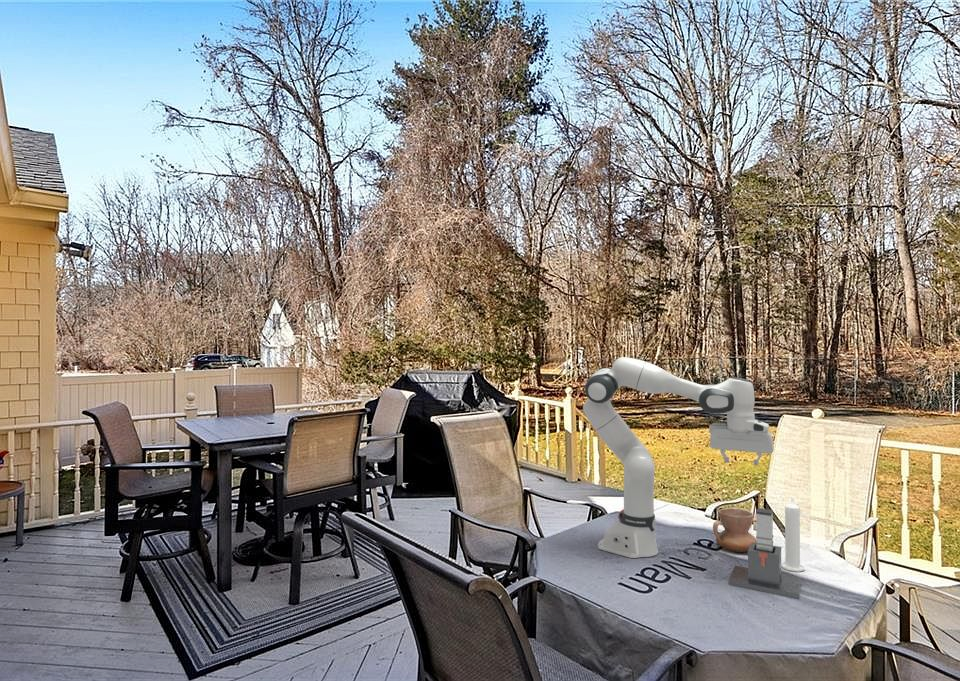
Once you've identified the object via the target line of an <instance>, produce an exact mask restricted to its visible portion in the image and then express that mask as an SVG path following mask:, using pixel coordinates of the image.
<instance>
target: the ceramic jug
mask: <svg viewBox="0 0 960 681" xmlns="http://www.w3.org/2000/svg"><path fill="white" fill-rule="evenodd" d="M718 516H719V520H716V521H714V522H713V524H712V530H713V534H714V535H715V538H716V543H717V544H718V545H719V547H721V548H723V549H725V550H728V551H730V552H733V553H734V552H736V553H748V549H749V547H750V544H751V542H755V543H756V541H757V538H756V536H754V535H753V534H752V533H750V532H749V531H750V528H751V526H752V525H753V522H754V523H756V517H754V513H753V512H752V511H750V510H748V509H745V508H738V507H736V508H735V507H728V508H721V509H719V510H718ZM719 525H721V526H722V527H723V529H724V530H722V531H721V532H719V531H718V530H719V529H718V528H719Z"/></svg>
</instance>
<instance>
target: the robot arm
mask: <svg viewBox="0 0 960 681" xmlns="http://www.w3.org/2000/svg"><path fill="white" fill-rule="evenodd" d="M621 387H627V388H631V389H634V390H637V391H639V392H642V393H648V394H653V395H659V394H673V395H679V396H682V397H684V398H688V399H691V400H693V401H696V402H697V403H698V404H699V407H700V408H701V409H702V410H703V411H704V412H706V413H707V414H710V415H718V414H723V413H726V422H713V423H710V424H709V426H708V428H709V429H708V431H709V434H710V436H709V437H710V438H709V447H710V448H711V449H713V450H720V454H721V456H722V457H723V463H728V464H729V463H730V456H727V455H726V451H737V452H738V451H739V452H748V453H756V456H757V458H756V459H755V458H754V459H753V460H752V461H753V466H757V467H759V463H760V462H759V460H761V457H762V456H763V454H772V453H773V452H774V439H773V435H772V433H771V432H770V425H769V424H768V423H766V422H763V421H761V420H758V419H756V418H755V417H756V416H755V411H754V407H755V404H756V402H755V399H756V398H755V389H754V384H753V382H751V381H750V380H748V379H746V378H741V377H735V376H730V377H729V378H728V379H726V380H725V381H722V382H720V383H717V384H716V383H709V384H707V383H706V384H701V383H697V382H694V381H691V380H688V379H684V378H682V377H678V376H676V375H674V374H673V373H670V372H669V371H667V370H665V369H664V368H661V367H660V366H659V365H656V364H654V363H651V362H649V361H645V360H641V359H637V358H633V357H628V356H627V357H626V356H625V357H624V356H621V357H617V358H616V359H615V360H614V362H613V364H612V367H609V366H604V367H601V368H599V369H597V370H596V371H595V372H594V373H593V374H591V375H590V377H589V378H588V380H587V381H586V383H585V387H584V391H585V396H586V397H587V399H586V401H585V402H584V403H583V405H582V406H583V407H582V411H583V413H584V415H585V417H586V419H587V420H588V422H589V424H590V426H591V427H592V429H593V430H594V431H595V432H596V433H597V435H598V436H599V437H600V438H601V441H603V443H605V445H606V446H607V447H608V449H609V450H610V451H611V452H612V453H613V454H614V455H615V456H616V457H617V459H618V460H619V461H620V462H621V464H622V465H623V508H622V509H621V510H620V512H619V513H618V515H617V519H618V521H617V522H615V523H613V524H612V525H610V526H609V527H607V529H606V530H605V532H604V535H603V538H602V539H600V540H599V542H598V543H597V548H598V549H599V550H602V551H605V552H609V553H611V554H615V555H619V556H622V557H626V558H630V559H638V558H648V557H650V558H651V557H654V556H656V555H658V554H659V553H660V552H659V549H658V545H657V540H656V532H655V530H656V516H655V513H654V512H655V511H654V510H655V509H654V507H655V505H654V503H655V502H654V501H655V500H654V497H655V496H654V491H655V472H656V471H655V468H656V467H655V466H656V465H655V462H654V459H653V456H652V454H651V453H650V450H648V449H647V447H646V446H645V445H644V444H643V443H642V441H641V440H640V439H639V437H638V436H637V434H635V432H633V430H632V429H631V428H630V426H629V425H628V424H627V423H626V421H625V420H624V419H623V418H622V417H621V415H620V414H619V413H618V411H617V410H616V408H614V406H613V403H612V402H611V398H613V397H614V395H616V393H617V391H618V390H619V388H621Z"/></svg>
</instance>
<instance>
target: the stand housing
mask: <svg viewBox="0 0 960 681" xmlns="http://www.w3.org/2000/svg"><path fill="white" fill-rule="evenodd" d="M756 547H757V544H756V543H755V542H751V544H750V547H749V549H748V552H747V567H746V566H745V567H744V566H739V565H734V567H733V570H732V572H731V573H730V576H729V578H728V585H730V586H733V587H738V586H739V588H743V589H745V588H746V589H748V590H753V589H754V591H759V592H763V593H769V594H773V595H778V596H782V597H783V596H784V597H787V598H793V599H799V598H800V590H801V584H802V577H799V576H793V575H788V574H782V567H781V564H782V546H778V545H777V546H776V545H773V547H774V549H773V553H770V552H764V551H758V550H756Z"/></svg>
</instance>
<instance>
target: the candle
mask: <svg viewBox="0 0 960 681" xmlns="http://www.w3.org/2000/svg"><path fill="white" fill-rule="evenodd" d="M794 500H795V499H794V496H791V497H790V501H789V502H788V503H787V504H785V505H784V528H785V529H784V533H785V534H784V538H785V540H784V541H785V542H784V544H785V545H784V546H785V548H784V551H785V554H784V556H785V557H784V559H785V562H781V569H783V568H784V570H785V569H786V570H785V571H788V570H789V572H792V571H795V572H794V573H801V572H804V571H805V567H804V565H802V564H801V540H800V539H801V537H800V536H801V528H800V527H801V523H800V521H801V520H800V518H801V517H800V515H801V514H800V511H801V510H800V506H799V505H798V504H797V503H796V502H795V501H794Z"/></svg>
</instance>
